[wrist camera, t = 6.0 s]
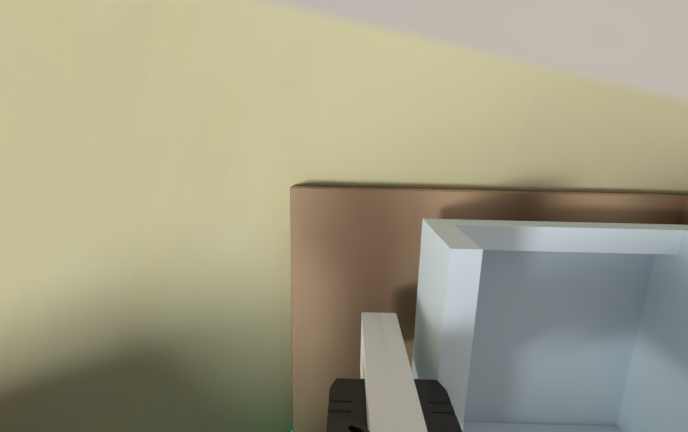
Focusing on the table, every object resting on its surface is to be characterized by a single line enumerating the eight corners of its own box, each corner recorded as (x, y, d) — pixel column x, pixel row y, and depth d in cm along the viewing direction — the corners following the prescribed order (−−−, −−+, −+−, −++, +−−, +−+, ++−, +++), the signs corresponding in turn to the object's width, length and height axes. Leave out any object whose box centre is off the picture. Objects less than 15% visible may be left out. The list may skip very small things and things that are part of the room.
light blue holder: (404, 424, 18) (424, 529, 13) (418, 214, 16) (450, 248, 11) (620, 430, 18) (720, 537, 13) (668, 220, 16) (811, 257, 11)
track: (295, 421, 19) (266, 577, 12) (292, 185, 16) (253, 220, 10) (652, 431, 19) (821, 593, 12) (712, 195, 16) (973, 237, 10)
